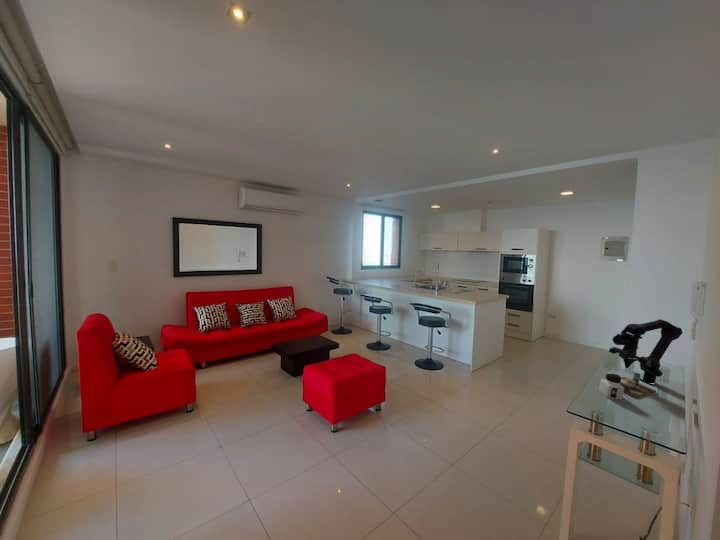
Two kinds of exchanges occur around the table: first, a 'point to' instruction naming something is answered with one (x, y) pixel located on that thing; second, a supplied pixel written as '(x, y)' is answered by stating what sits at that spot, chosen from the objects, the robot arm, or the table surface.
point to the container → (612, 386)
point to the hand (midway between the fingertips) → (626, 368)
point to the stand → (635, 392)
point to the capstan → (632, 381)
